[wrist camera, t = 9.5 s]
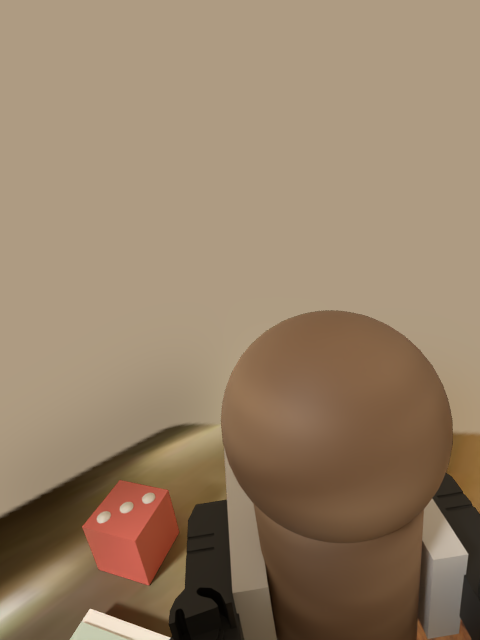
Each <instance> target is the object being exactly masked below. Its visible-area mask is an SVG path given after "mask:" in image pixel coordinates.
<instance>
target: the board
mask: <svg viewBox="0 0 480 640" xmlns="http://www.w3.org/2000/svg"><path fill="white" fill-rule="evenodd" d="M169 639H170V637H167V636H164V635H161V634H159V633H156V632H153V631H150V630H148V629H145V628H142V627H139V626H137V625H134V624H131V623H128V622H126V621H123V620H120V619H117V618H115V617H112V616H109V615H106V614H104V613H101V612H98V611H95V610H93V609H90V610H89V611H88V613H87V614H86V616H85V617H84V619H83V620H82V622H81V623H80V625H79V626H78V628H77V629H76V631H75V633H74V634H73V636H72V637H71V639H70V640H169Z"/></svg>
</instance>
